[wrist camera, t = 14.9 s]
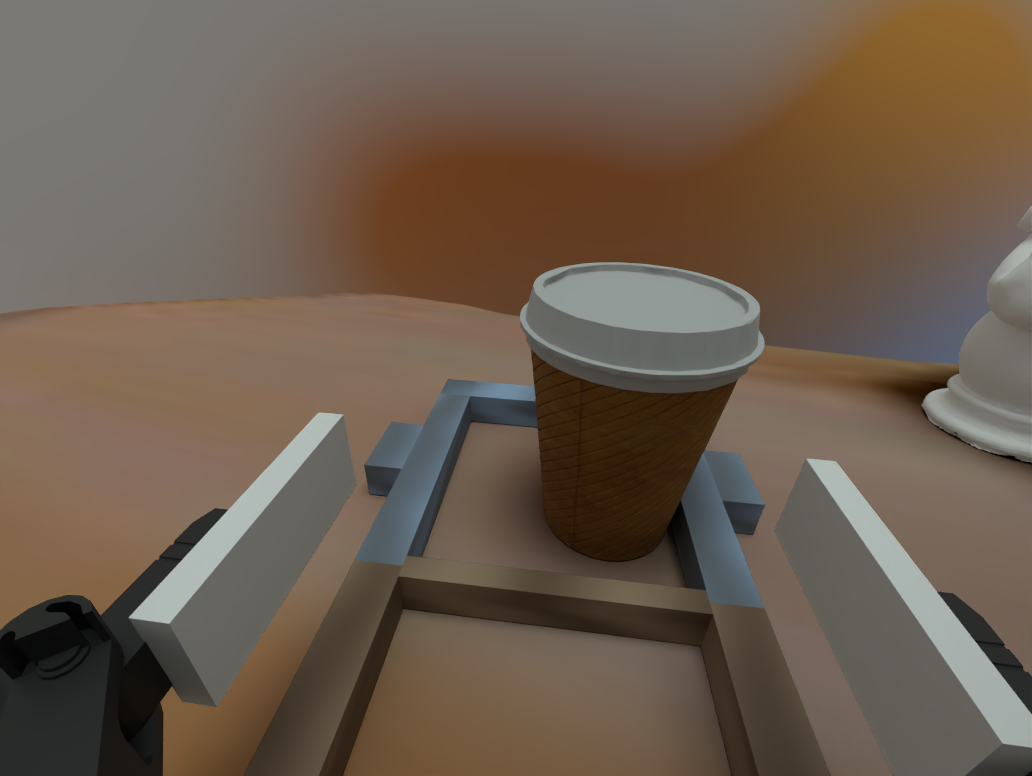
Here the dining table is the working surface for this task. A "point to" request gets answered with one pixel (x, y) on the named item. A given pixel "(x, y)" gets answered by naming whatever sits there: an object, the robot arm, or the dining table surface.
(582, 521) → the disposable coffee cup
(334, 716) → the two-bay frame
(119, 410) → the dining table surface
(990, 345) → the cherub figurine
